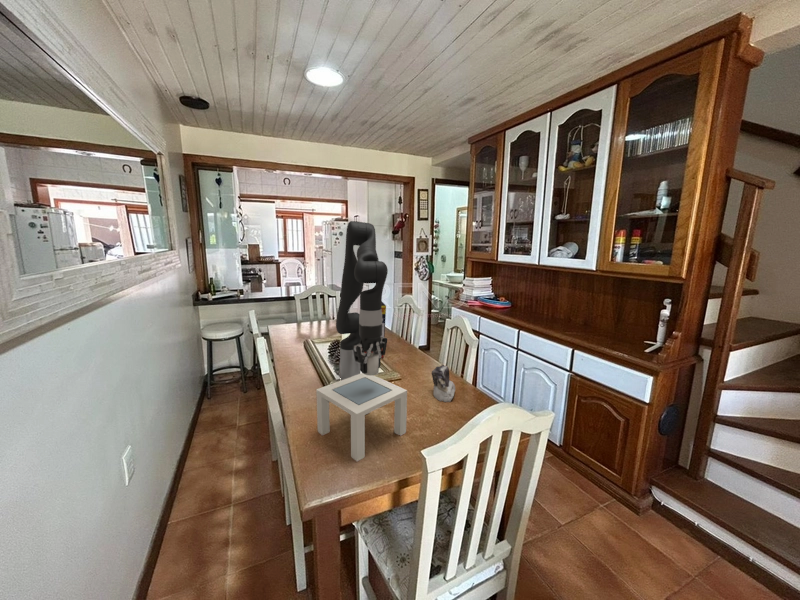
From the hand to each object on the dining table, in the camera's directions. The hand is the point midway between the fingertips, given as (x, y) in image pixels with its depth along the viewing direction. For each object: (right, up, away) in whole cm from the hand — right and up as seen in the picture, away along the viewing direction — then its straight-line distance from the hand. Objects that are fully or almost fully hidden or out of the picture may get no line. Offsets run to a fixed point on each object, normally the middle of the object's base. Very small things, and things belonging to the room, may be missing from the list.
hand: (370, 370), depth 112 cm
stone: (+29, -18, +33) cm, 47 cm away
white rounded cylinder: (0, -1, 0) cm, 1 cm away
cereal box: (-7, -7, +86) cm, 86 cm away
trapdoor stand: (-3, -23, +5) cm, 23 cm away
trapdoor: (-3, -8, +2) cm, 9 cm away
